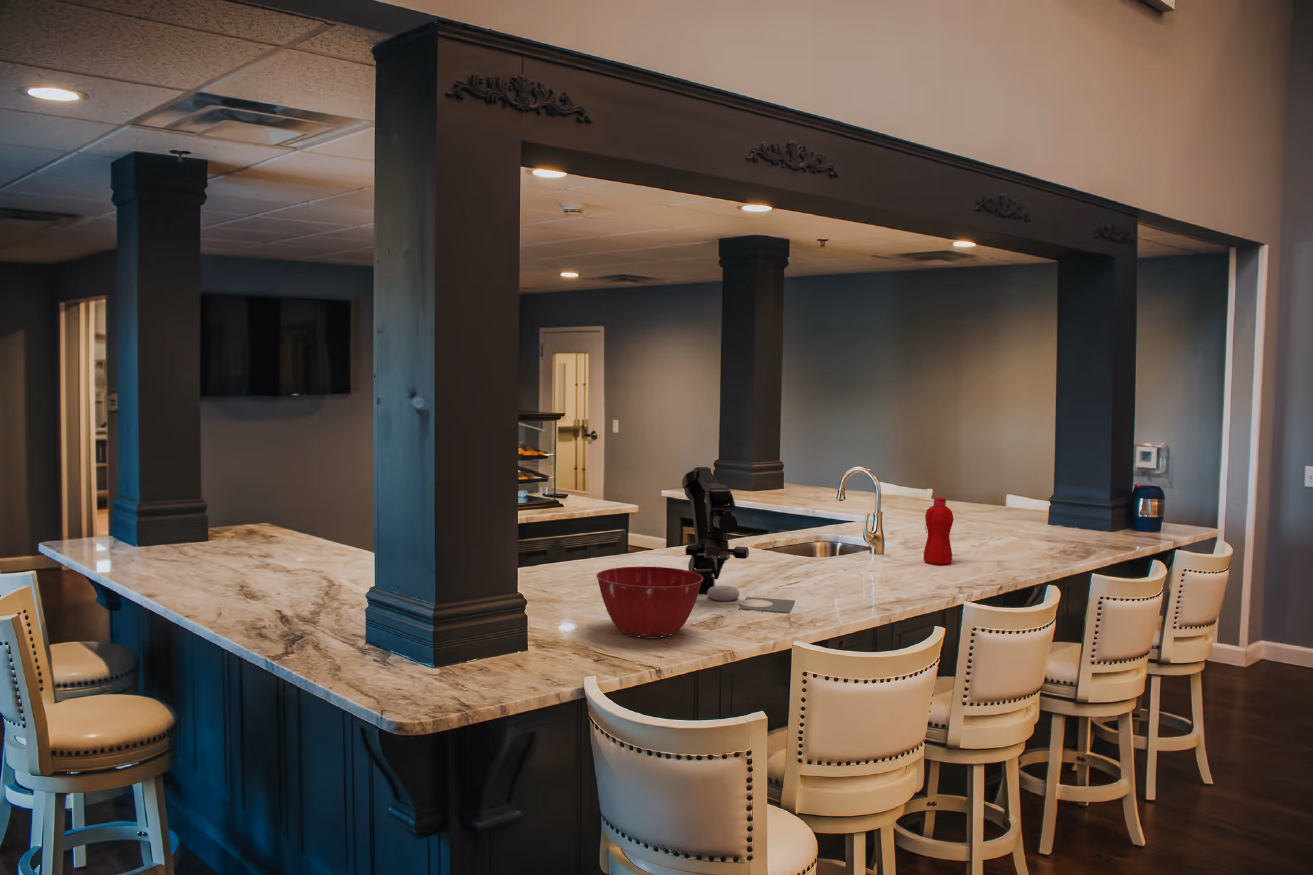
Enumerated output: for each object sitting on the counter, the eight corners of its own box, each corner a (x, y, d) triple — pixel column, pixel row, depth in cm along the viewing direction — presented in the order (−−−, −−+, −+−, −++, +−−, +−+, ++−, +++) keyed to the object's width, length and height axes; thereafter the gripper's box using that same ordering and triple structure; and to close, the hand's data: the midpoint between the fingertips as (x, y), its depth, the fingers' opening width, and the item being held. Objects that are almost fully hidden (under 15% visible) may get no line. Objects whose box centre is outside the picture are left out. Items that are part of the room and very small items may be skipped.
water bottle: (916, 562, 368) (918, 497, 367) (938, 560, 373) (941, 496, 372) (932, 566, 360) (935, 499, 359) (955, 564, 365) (957, 498, 363)
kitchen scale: (735, 609, 286) (735, 607, 286) (743, 597, 301) (743, 596, 301) (789, 613, 282) (789, 611, 282) (795, 601, 298) (795, 599, 298)
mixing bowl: (642, 614, 278) (643, 560, 277) (723, 631, 260) (724, 574, 259) (573, 632, 256) (574, 574, 255) (656, 653, 238) (657, 591, 237)
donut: (745, 601, 297) (729, 593, 307) (745, 590, 297) (729, 583, 306) (716, 603, 293) (701, 596, 302) (716, 592, 293) (701, 585, 302)
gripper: (681, 530, 288) (680, 582, 289) (743, 533, 284) (742, 586, 285) (689, 525, 299) (688, 575, 300) (749, 528, 295) (748, 579, 296)
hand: (716, 579), depth 295 cm, fingers closed
